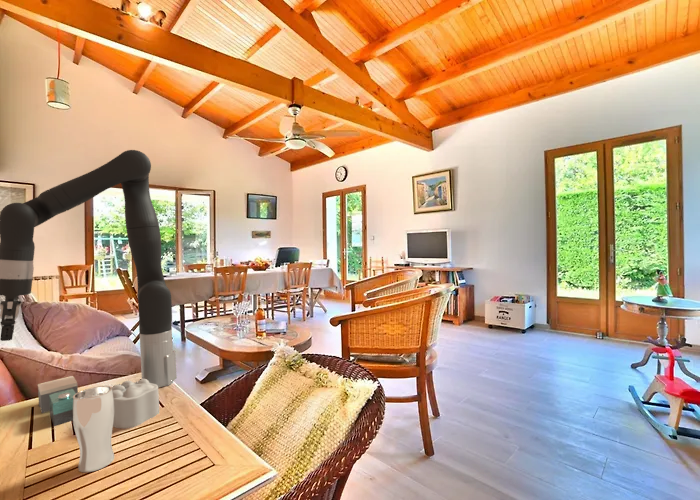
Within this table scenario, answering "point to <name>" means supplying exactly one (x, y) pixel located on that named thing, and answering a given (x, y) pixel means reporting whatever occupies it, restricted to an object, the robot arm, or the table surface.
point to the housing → (61, 406)
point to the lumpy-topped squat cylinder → (134, 403)
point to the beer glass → (94, 427)
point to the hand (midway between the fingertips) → (7, 337)
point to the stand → (54, 390)
